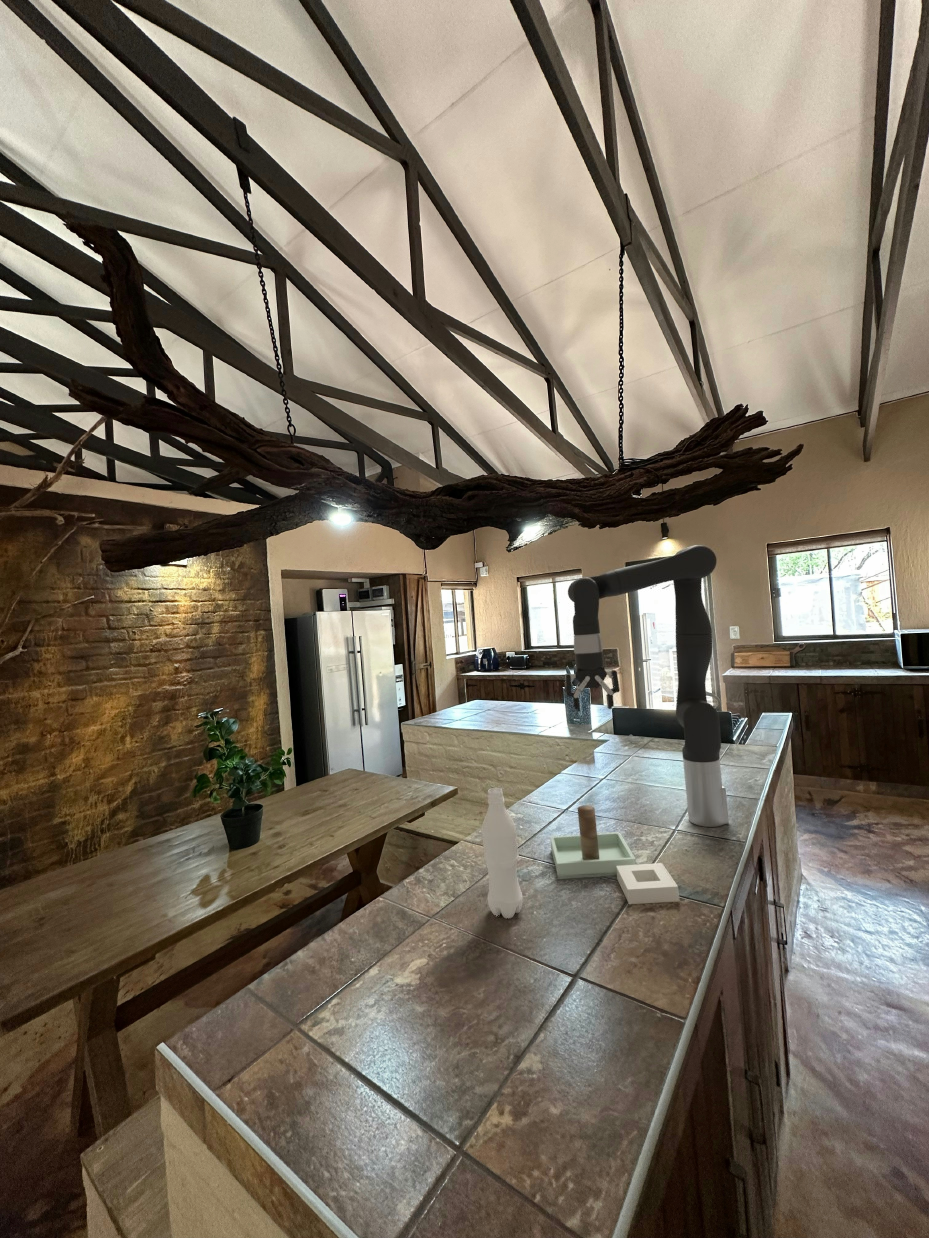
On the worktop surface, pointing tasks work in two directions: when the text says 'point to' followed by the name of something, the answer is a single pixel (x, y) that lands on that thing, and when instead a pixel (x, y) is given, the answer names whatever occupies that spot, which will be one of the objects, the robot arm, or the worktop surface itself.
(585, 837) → the dowel
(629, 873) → the dowel block
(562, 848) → the tray
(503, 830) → the water bottle
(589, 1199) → the worktop surface
